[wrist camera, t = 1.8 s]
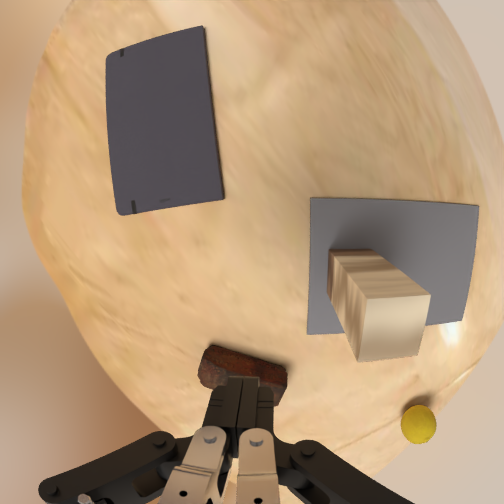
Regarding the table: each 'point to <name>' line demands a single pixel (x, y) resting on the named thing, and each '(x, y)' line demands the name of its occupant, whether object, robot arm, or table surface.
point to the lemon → (418, 424)
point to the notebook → (162, 124)
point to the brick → (240, 370)
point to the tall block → (376, 305)
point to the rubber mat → (395, 250)
